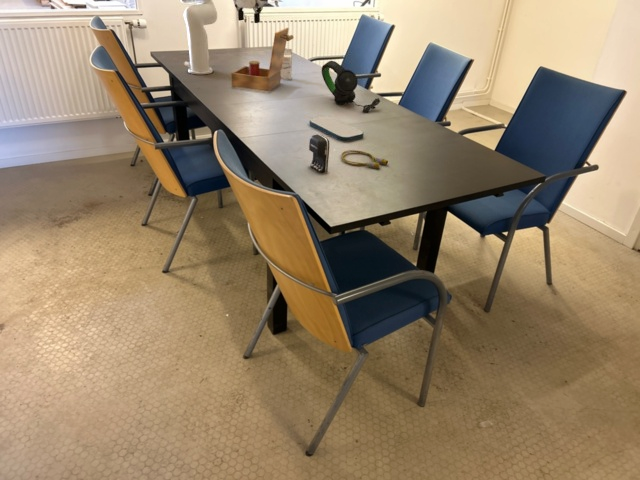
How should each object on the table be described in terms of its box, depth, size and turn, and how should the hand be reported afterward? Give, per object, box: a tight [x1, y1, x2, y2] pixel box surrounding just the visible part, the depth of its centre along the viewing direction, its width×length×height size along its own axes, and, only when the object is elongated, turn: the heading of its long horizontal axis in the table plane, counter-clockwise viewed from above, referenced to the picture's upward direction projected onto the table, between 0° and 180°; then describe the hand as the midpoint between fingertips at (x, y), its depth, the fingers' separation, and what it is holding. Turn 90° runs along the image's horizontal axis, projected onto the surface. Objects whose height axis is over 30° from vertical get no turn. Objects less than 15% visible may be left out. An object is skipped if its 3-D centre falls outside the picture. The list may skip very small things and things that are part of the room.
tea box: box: [230, 65, 282, 92], centre depth 237 cm, size 19×16×7 cm
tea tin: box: [248, 60, 260, 76], centre depth 233 cm, size 5×5×11 cm
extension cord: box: [341, 149, 389, 169], centre depth 168 cm, size 12×16×2 cm
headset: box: [321, 60, 381, 113], centre depth 217 cm, size 18×14×29 cm
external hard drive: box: [309, 115, 364, 142], centre depth 191 cm, size 24×12×2 cm, turn 37°
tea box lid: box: [268, 27, 294, 77], centre depth 227 cm, size 20×16×5 cm
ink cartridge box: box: [281, 47, 293, 80], centre depth 249 cm, size 9×5×15 cm, turn 84°
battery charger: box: [308, 133, 330, 174], centre depth 157 cm, size 7×4×11 cm, turn 33°
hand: (249, 21), depth 227 cm, fingers open, 9 cm apart
